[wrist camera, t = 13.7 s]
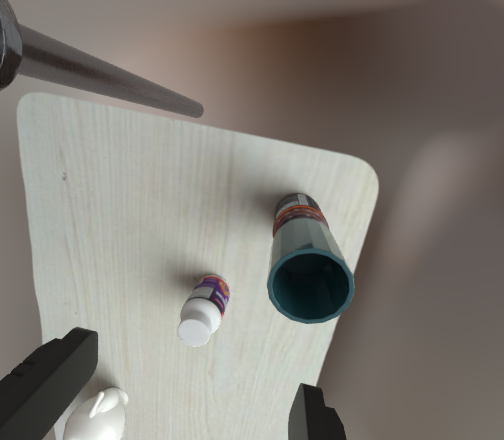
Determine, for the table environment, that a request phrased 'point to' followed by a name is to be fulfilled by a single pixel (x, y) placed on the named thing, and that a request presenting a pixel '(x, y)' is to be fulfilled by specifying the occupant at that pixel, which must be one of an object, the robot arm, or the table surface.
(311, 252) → the cup
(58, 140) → the table surface
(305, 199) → the supplement bottle
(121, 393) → the teapot
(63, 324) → the table surface
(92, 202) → the table surface
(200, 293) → the pill bottle
